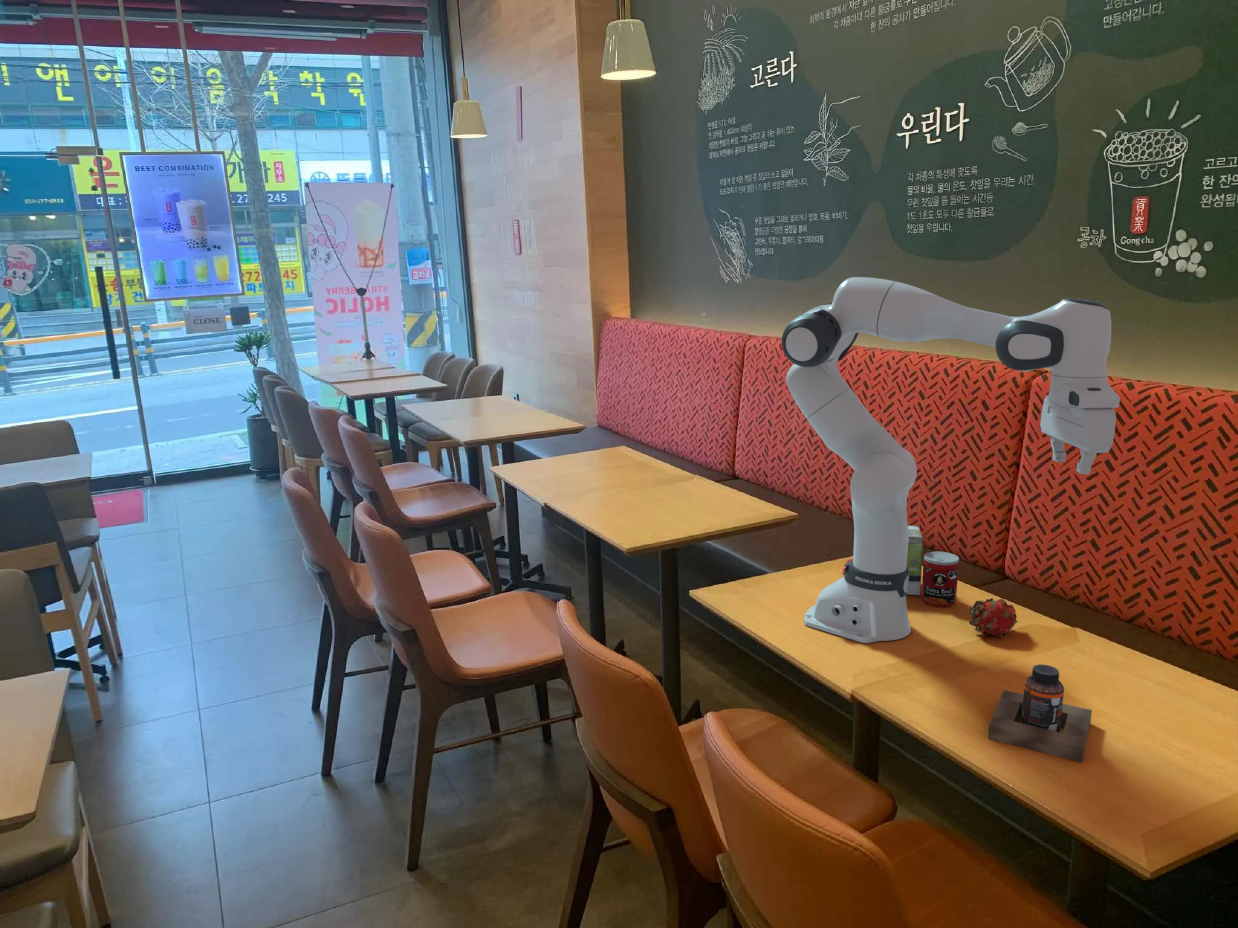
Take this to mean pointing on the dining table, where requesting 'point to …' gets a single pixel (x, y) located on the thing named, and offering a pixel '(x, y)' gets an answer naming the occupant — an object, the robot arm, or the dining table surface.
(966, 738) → the dining table surface
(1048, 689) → the supplement bottle
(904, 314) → the robot arm
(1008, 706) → the walnut socket block
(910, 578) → the tea box
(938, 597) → the canned food
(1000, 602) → the dragon fruit
